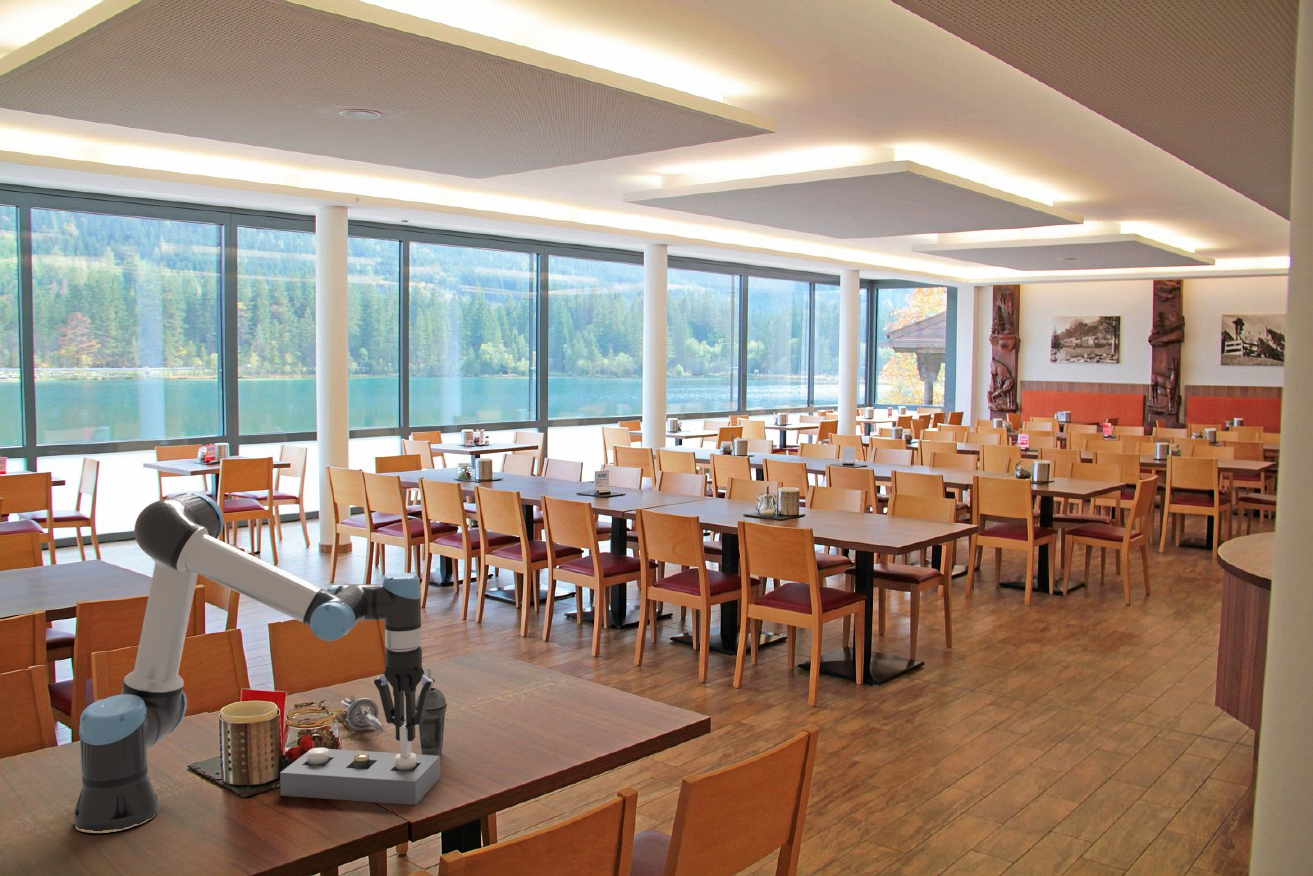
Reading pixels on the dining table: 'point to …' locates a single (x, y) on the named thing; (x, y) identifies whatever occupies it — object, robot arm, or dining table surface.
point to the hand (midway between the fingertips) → (406, 755)
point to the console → (361, 778)
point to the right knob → (405, 763)
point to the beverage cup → (433, 722)
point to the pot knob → (361, 761)
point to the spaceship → (362, 713)
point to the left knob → (318, 756)
